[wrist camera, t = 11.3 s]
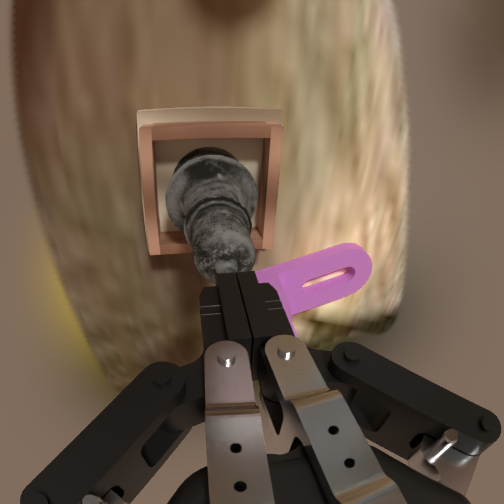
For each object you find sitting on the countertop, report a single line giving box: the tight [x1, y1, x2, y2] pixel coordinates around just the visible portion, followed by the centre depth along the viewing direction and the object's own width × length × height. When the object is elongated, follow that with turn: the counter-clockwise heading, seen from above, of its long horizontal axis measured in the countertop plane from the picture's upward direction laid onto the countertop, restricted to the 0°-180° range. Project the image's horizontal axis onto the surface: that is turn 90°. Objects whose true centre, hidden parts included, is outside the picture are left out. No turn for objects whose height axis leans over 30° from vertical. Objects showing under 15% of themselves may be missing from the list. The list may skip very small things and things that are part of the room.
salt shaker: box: [165, 147, 258, 283], centre depth 18 cm, size 6×6×12 cm
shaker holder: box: [137, 107, 283, 255], centre depth 23 cm, size 11×10×3 cm
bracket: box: [255, 243, 372, 337], centre depth 28 cm, size 13×6×7 cm, turn 104°
